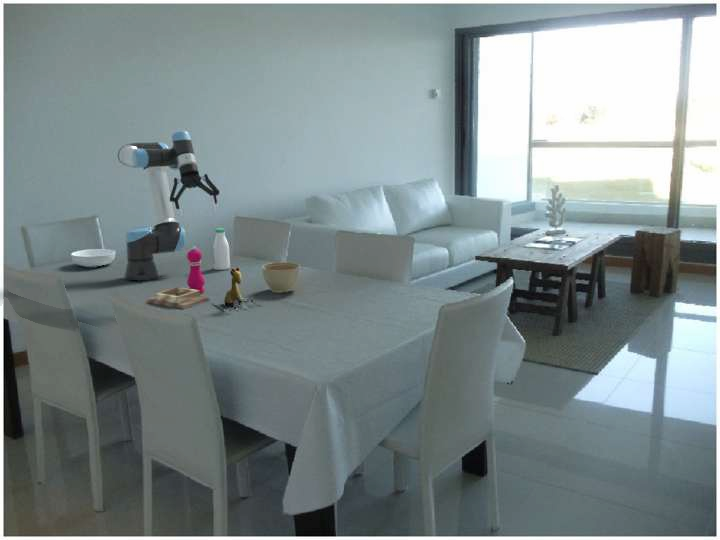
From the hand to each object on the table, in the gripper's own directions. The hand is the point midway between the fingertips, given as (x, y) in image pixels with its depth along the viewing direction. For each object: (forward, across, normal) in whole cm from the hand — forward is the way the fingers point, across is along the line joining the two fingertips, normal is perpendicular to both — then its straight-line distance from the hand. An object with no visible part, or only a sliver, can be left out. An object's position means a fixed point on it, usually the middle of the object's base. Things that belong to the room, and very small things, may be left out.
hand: (198, 213), depth 277 cm
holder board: (+32, -14, +10) cm, 37 cm away
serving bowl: (-14, -43, +87) cm, 98 cm away
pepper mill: (+27, -5, +22) cm, 35 cm away
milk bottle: (+7, +15, +60) cm, 62 cm away
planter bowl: (+35, +29, +13) cm, 48 cm away
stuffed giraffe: (+41, +6, 0) cm, 41 cm away
